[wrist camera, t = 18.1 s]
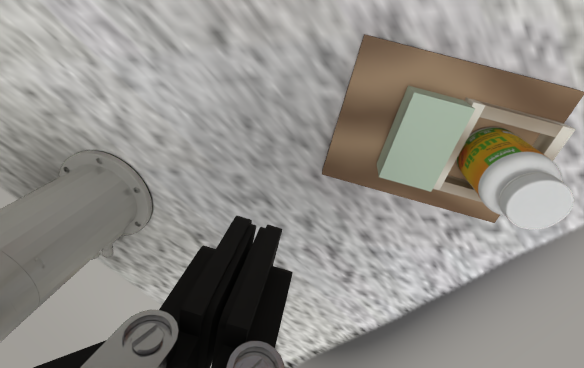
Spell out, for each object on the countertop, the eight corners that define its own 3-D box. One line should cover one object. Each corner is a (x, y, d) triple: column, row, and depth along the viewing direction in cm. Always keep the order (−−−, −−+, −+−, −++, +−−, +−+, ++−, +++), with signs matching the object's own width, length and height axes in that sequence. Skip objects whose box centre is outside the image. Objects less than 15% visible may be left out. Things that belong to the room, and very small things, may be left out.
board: (490, 216, 34) (502, 234, 31) (322, 169, 34) (319, 182, 32) (576, 89, 27) (602, 97, 24) (364, 34, 28) (365, 35, 25)
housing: (424, 176, 31) (431, 191, 28) (376, 163, 31) (378, 177, 29) (463, 100, 27) (475, 108, 25) (408, 85, 27) (414, 92, 25)
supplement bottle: (487, 113, 28) (547, 154, 19) (531, 146, 28) (608, 200, 20) (442, 158, 30) (477, 211, 22) (483, 187, 31) (533, 250, 22)
